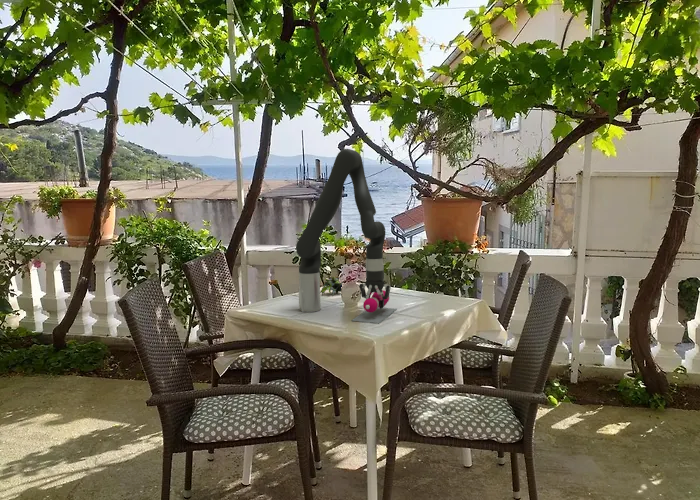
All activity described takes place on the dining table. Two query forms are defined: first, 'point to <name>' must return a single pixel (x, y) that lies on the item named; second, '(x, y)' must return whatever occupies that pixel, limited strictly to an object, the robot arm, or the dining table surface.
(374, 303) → the pepper mill
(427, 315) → the dining table surface
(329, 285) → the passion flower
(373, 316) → the mat
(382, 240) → the robot arm
